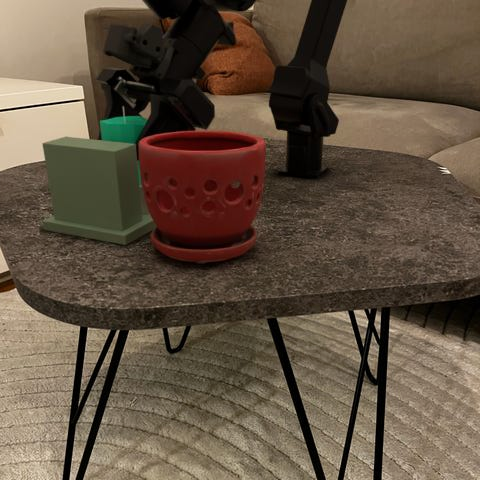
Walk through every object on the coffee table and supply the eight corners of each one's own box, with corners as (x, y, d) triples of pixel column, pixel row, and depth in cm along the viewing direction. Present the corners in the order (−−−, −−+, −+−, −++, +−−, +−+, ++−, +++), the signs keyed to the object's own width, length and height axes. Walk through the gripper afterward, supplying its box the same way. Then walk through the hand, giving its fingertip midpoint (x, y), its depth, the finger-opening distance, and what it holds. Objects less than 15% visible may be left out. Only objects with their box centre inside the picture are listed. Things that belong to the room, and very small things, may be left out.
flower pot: (278, 264, 62) (281, 148, 56) (151, 276, 59) (141, 155, 53) (249, 224, 73) (250, 123, 67) (142, 232, 70) (133, 128, 65)
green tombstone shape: (130, 191, 86) (123, 118, 81) (202, 201, 81) (200, 124, 76) (43, 230, 71) (29, 144, 66) (126, 245, 67) (116, 154, 62)
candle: (118, 214, 73) (107, 112, 67) (102, 201, 77) (90, 105, 71) (163, 206, 75) (156, 107, 70) (145, 194, 80) (137, 101, 74)
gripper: (101, -3, 73) (31, 99, 72) (189, -5, 61) (106, 120, 60) (159, 61, 82) (96, 155, 81) (247, 72, 69) (175, 182, 68)
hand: (115, 152), depth 72 cm, fingers open, 8 cm apart
